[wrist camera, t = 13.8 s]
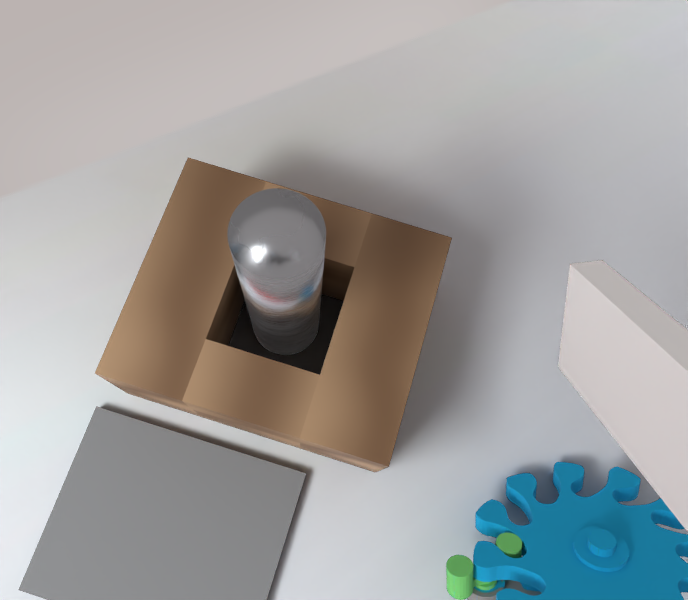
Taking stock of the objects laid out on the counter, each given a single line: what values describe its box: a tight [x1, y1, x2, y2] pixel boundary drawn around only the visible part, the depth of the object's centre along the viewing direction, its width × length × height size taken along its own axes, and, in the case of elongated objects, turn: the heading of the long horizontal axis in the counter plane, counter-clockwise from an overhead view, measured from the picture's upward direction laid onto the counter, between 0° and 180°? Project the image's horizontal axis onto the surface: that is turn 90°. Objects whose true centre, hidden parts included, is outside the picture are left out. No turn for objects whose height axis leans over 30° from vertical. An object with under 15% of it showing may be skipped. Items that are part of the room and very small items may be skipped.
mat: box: [19, 406, 306, 600], centre depth 28 cm, size 10×8×1 cm
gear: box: [446, 462, 688, 600], centre depth 27 cm, size 11×6×10 cm
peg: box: [227, 188, 326, 355], centre depth 26 cm, size 3×3×11 cm
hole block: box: [95, 158, 452, 472], centre depth 29 cm, size 12×10×5 cm
